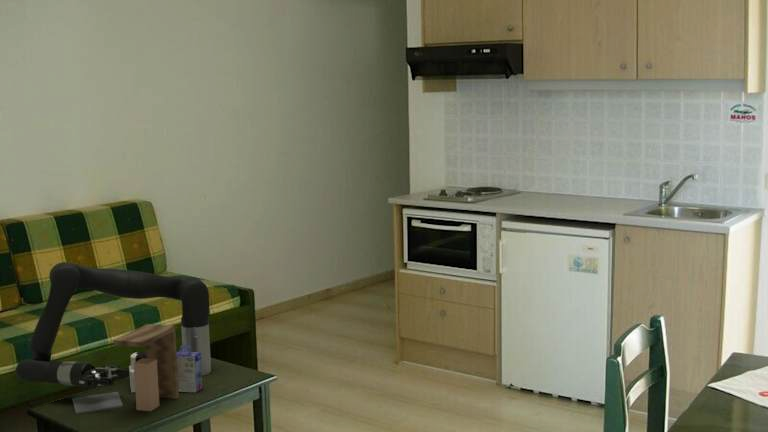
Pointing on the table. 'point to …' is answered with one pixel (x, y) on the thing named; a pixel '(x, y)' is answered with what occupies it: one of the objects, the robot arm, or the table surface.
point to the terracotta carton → (146, 384)
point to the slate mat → (97, 402)
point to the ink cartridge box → (189, 370)
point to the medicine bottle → (134, 358)
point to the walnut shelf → (157, 354)
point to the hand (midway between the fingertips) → (120, 377)
